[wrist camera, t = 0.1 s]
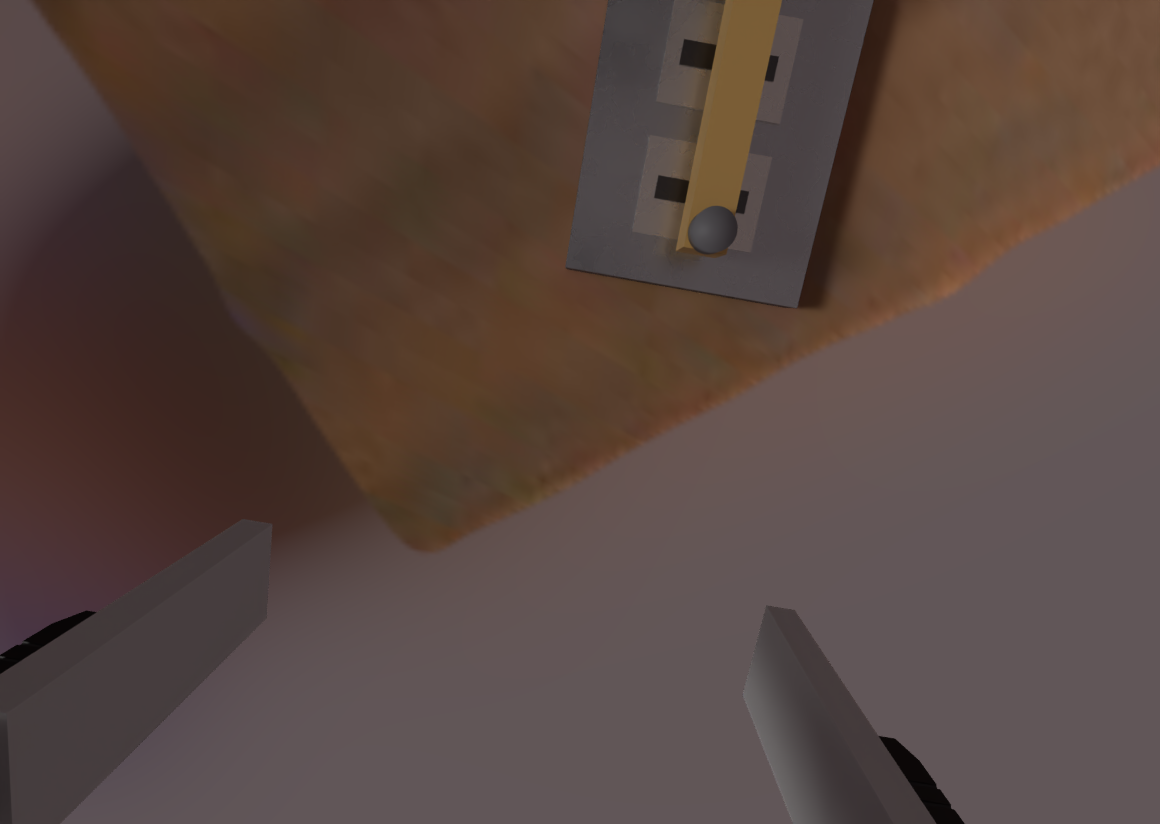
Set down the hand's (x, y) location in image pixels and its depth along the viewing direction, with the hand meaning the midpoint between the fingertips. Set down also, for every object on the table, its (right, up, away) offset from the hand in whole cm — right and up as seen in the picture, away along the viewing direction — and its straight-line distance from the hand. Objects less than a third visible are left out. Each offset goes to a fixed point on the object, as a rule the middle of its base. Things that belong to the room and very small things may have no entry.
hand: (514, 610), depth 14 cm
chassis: (+11, +25, +23) cm, 35 cm away
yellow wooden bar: (+11, +25, +18) cm, 32 cm away
